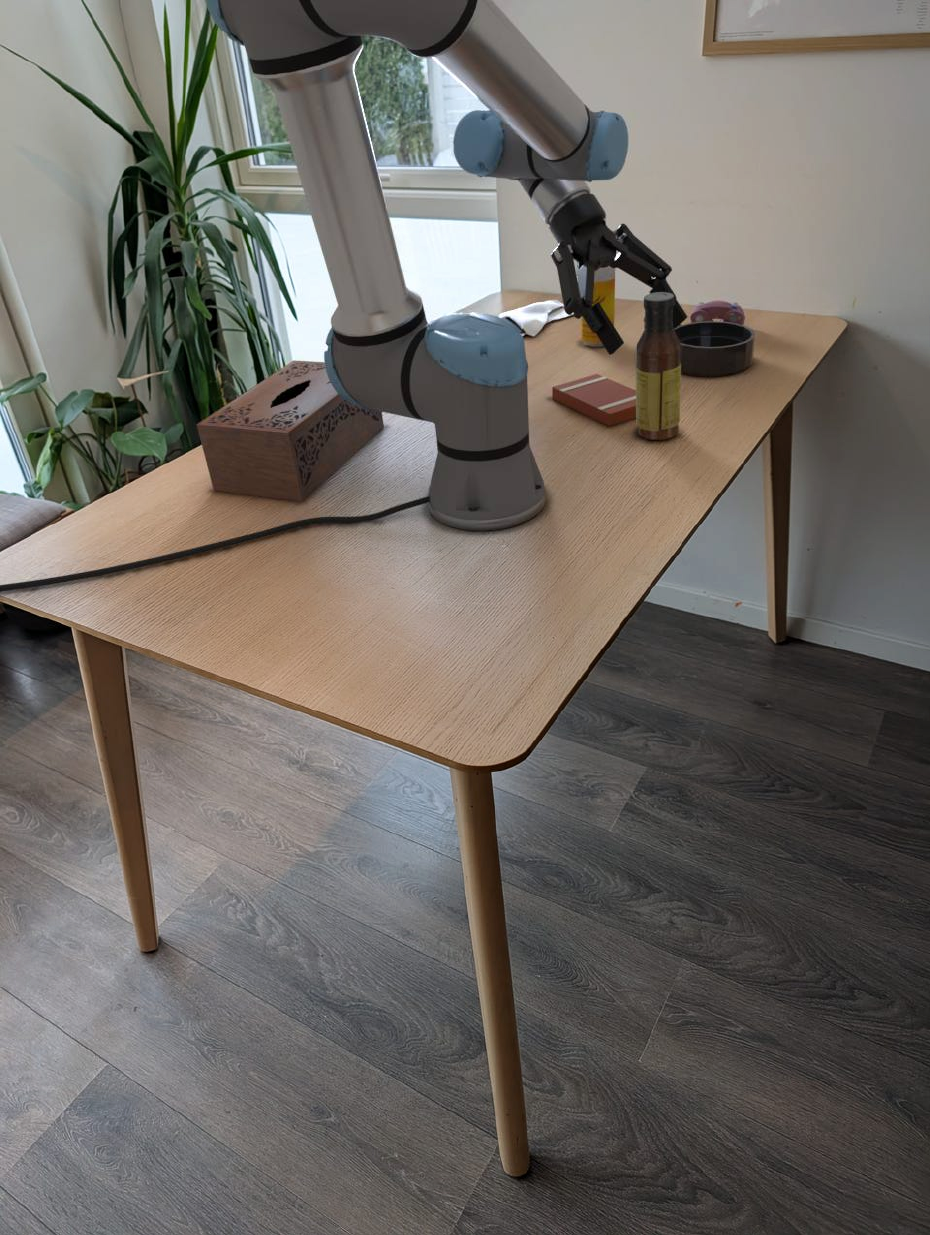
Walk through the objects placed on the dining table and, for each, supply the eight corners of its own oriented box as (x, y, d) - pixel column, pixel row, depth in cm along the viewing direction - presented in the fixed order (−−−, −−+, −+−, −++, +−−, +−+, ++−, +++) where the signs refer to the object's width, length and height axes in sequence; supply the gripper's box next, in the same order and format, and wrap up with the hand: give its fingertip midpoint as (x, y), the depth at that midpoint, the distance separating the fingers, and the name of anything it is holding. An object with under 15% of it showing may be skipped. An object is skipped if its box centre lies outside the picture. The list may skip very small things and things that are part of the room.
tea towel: (609, 426, 134) (609, 413, 133) (552, 398, 145) (551, 386, 144) (656, 411, 137) (656, 398, 136) (596, 385, 148) (596, 373, 147)
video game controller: (688, 339, 168) (688, 311, 162) (690, 322, 170) (691, 293, 164) (742, 340, 165) (745, 311, 159) (744, 322, 167) (747, 293, 161)
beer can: (575, 341, 168) (574, 258, 159) (602, 335, 170) (603, 252, 161) (592, 349, 163) (592, 264, 155) (620, 343, 165) (622, 258, 156)
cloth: (537, 300, 192) (537, 289, 191) (591, 307, 185) (591, 296, 183) (462, 335, 176) (461, 323, 175) (518, 344, 169) (517, 332, 167)
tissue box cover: (301, 501, 121) (287, 433, 116) (213, 490, 126) (196, 424, 121) (383, 427, 141) (375, 365, 135) (304, 420, 146) (293, 360, 140)
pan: (706, 384, 145) (708, 354, 142) (649, 362, 155) (650, 333, 153) (769, 363, 150) (773, 334, 148) (710, 344, 161) (712, 316, 158)
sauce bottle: (676, 424, 133) (685, 287, 121) (681, 441, 128) (690, 300, 116) (632, 426, 134) (636, 290, 122) (634, 443, 129) (639, 303, 117)
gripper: (518, 208, 116) (603, 344, 115) (643, 175, 128) (721, 297, 127) (493, 246, 122) (573, 375, 121) (614, 211, 135) (688, 328, 134)
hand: (649, 336), depth 124 cm, fingers open, 13 cm apart
